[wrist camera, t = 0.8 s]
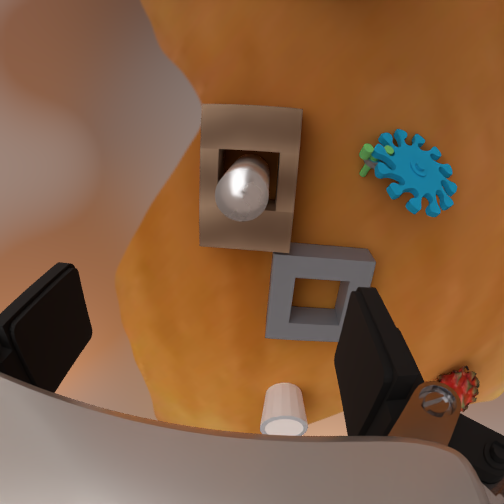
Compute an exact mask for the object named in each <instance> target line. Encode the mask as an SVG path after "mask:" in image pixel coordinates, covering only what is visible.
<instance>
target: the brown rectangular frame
mask: <svg viewBox="0 0 504 504" xmlns="http://www.w3.org/2000/svg"><path fill="white" fill-rule="evenodd" d="M302 113H303V109H297V108H286V107H273V106H258V105H237V104H202V118H201V146H200V207H199V228H200V246H205V247H218V248H231V249H244V250H257V251H270V252H282V253H289V250H290V241H291V232H292V223H293V213H294V204H295V194H296V183H297V173H298V162H299V150H300V138H301V126H302ZM225 149H233V150H251V151H266V152H279V161H278V174H277V186H276V199H275V200H268V203H267V206H266V208H265V210H264V211H263V212H262V214H260V215H259V216H258V217H257V218H255V219H253V220H250V221H235V220H232V219H230V218H228V217H226V216H225V215H224V214H223V213H222V212H221V211H220V210H219V208H218V206H217V204H216V200H215V190H216V186H217V184H218V182H219V181H220V179H221V178H222V177H223V176H224V156H225Z"/></svg>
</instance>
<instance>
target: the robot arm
mask: <svg viewBox="0 0 504 504" xmlns="http://www.w3.org/2000/svg"><path fill="white" fill-rule="evenodd" d="M91 336H92V327H91V323H90V319H89V316H88V312H87V308H86V304H85V300H84V295H83V291H82V287H81V282H80V277H79V272H78V270H77V269H76V268H75V267H74V265H73V264H69V263H60V262H59V263H57V264H56V265H54V266H53V267H52V268H51V269H50V270H48V271H47V272H46V273H45V274H44V275H43V276H41V277H40V278H39V279H38V280H37V281H36V282H35V283H33V284H32V285H31V286H30V287H29V288H28V289H27V290H25V292H23V293H22V294H21V295H20V296H19V297H18V298H17V299H15V300H14V301H13V302H12V303H11V304H10V305H9V306H8V307H7V308H6V309H5V310H4V311H3V312H2V313H1V314H0V504H504V436H503V435H501V434H499V433H497V432H495V431H493V430H491V429H489V428H487V427H485V426H484V425H482V424H480V423H478V422H476V421H474V420H472V419H470V418H468V417H466V416H464V415H462V414H460V412H461V400H460V398H459V396H458V394H457V393H456V392H455V391H454V390H453V389H452V388H451V387H449V386H448V385H446V384H444V383H440V382H435V381H429V382H424V380H423V378H422V376H421V374H420V371H419V369H418V367H417V365H416V363H415V361H414V358H413V356H412V354H411V352H410V350H409V348H408V346H407V344H406V342H405V340H404V338H403V336H402V334H401V332H400V330H399V329H398V328H396V326H395V324H394V322H393V320H392V318H391V316H390V314H389V312H388V310H387V309H386V307H385V305H384V303H383V301H382V299H381V297H380V295H379V293H378V291H377V290H376V288H371V287H358V288H357V290H356V291H352V292H351V294H350V297H349V302H348V306H347V310H346V314H345V318H344V322H343V326H342V330H341V334H340V338H339V342H338V345H337V349H336V353H335V358H334V364H335V369H336V374H337V379H338V384H339V389H340V395H341V400H342V405H343V411H344V416H345V422H346V428H347V433H348V436H288V435H267V434H252V433H240V432H230V431H221V430H212V429H205V428H198V427H191V426H185V425H179V424H173V423H167V422H162V421H156V420H151V419H147V418H141V417H137V416H133V415H129V414H124V413H120V412H116V411H112V410H108V409H104V408H101V407H97V406H94V405H90V404H87V403H84V402H80V401H77V400H74V399H71V398H67V397H65V396H62V395H59V394H56V393H55V391H56V390H57V388H58V386H59V385H60V383H61V382H62V380H63V379H64V377H65V376H66V374H67V372H68V371H69V370H70V368H71V367H72V365H73V364H74V362H75V361H76V359H77V358H78V356H79V355H80V353H81V352H82V350H83V349H84V347H85V346H86V345H87V343H88V342H89V340H90V339H91Z"/></svg>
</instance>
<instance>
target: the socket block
mask: <svg viewBox="0 0 504 504" xmlns="http://www.w3.org/2000/svg"><path fill="white" fill-rule="evenodd" d="M375 265H376V261H375V260H374V258H373V257H372V255H371V253H370V252H369V250H368V249H363V248H351V247H340V246H328V245H316V244H303V243H291V242H290V250H289V253H282V252H273V254H272V265H271V276H270V286H269V296H268V306H267V316H266V333H265V338H271V339H286V340H304V341H328V342H339V338H340V334H341V330H342V326H343V322H344V318H345V314H346V310H347V306H348V302H349V297H350V294H351V292H352V291H356V290H357V288H358V287H370V285H371V281H372V277H373V273H374V269H375ZM295 278H307V279H321V280H336V281H341V282H340V287H339V292H338V296H337V301H336V305H335V309H326V308H309V307H293V306H291V305H292V298H293V291H294V283H295Z"/></svg>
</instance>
